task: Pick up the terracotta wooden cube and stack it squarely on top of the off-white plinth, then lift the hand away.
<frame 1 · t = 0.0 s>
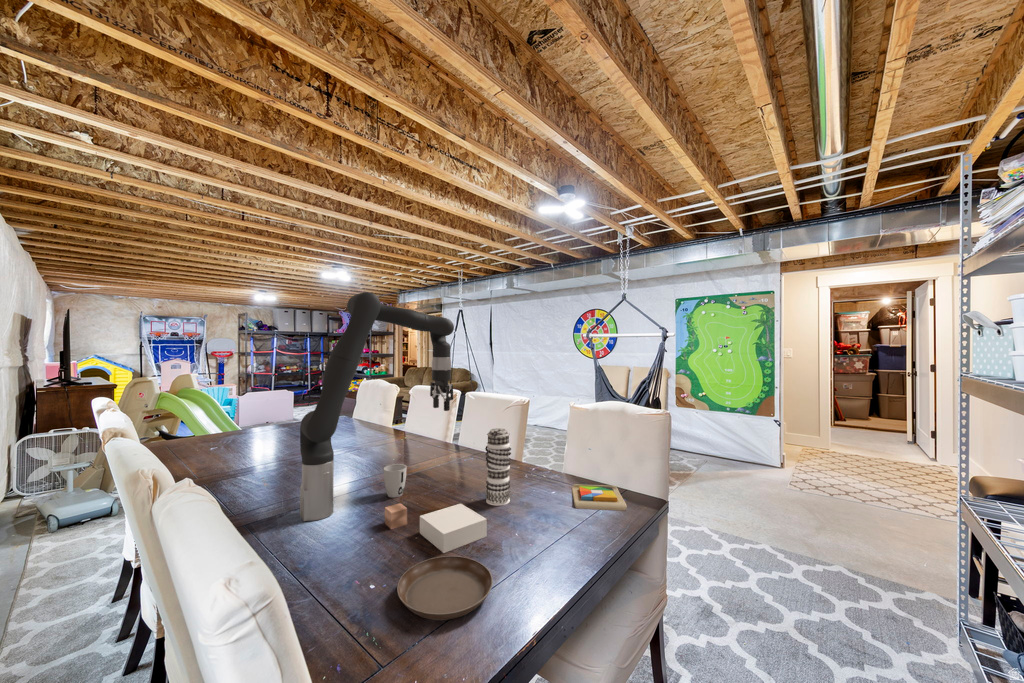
hand: (441, 409, 154), 29 cm above the table, fingers open, 8 cm apart
cup: (395, 495, 141), on the table
decorative candle: (497, 501, 136), on the table
terracotta cube: (395, 524, 119), on the table
plant saucer: (445, 596, 85), on the table
wooden puzzle: (597, 500, 139), on the table
off-white plinth: (452, 534, 112), on the table
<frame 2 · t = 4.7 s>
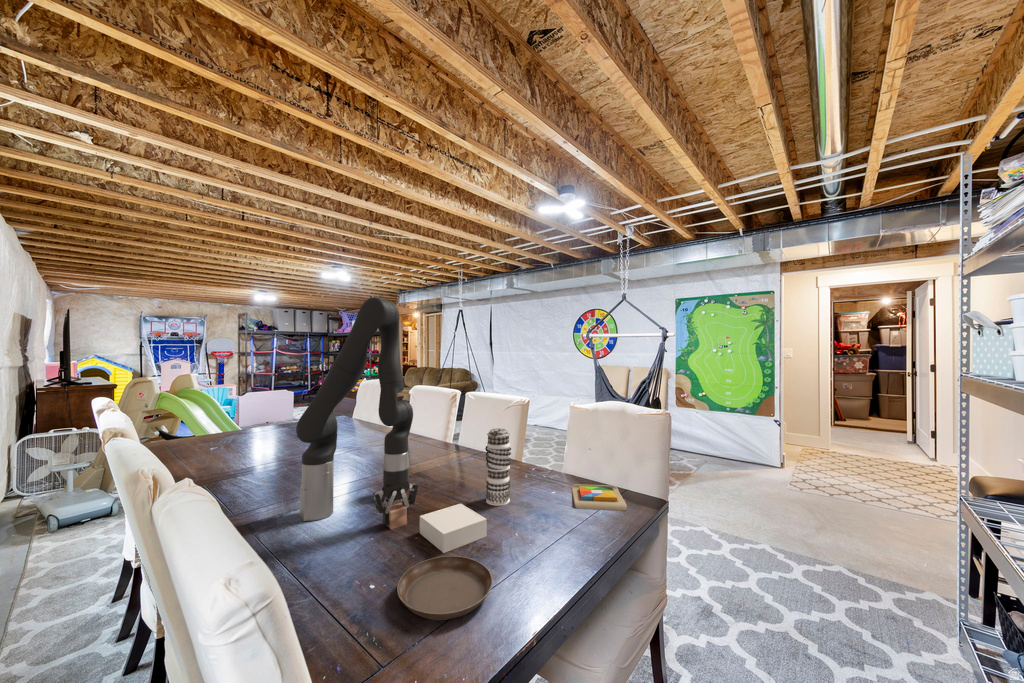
hand: (395, 521, 119), 1 cm above the table, fingers closed on terracotta cube, 5 cm apart
terracotta cube: (395, 523, 119), on the table, touching gripper
everything else where it was.
when the fingers open (7 cm above the table, at t = 10.9 s): terracotta cube stays where it is, resting on off-white plinth.
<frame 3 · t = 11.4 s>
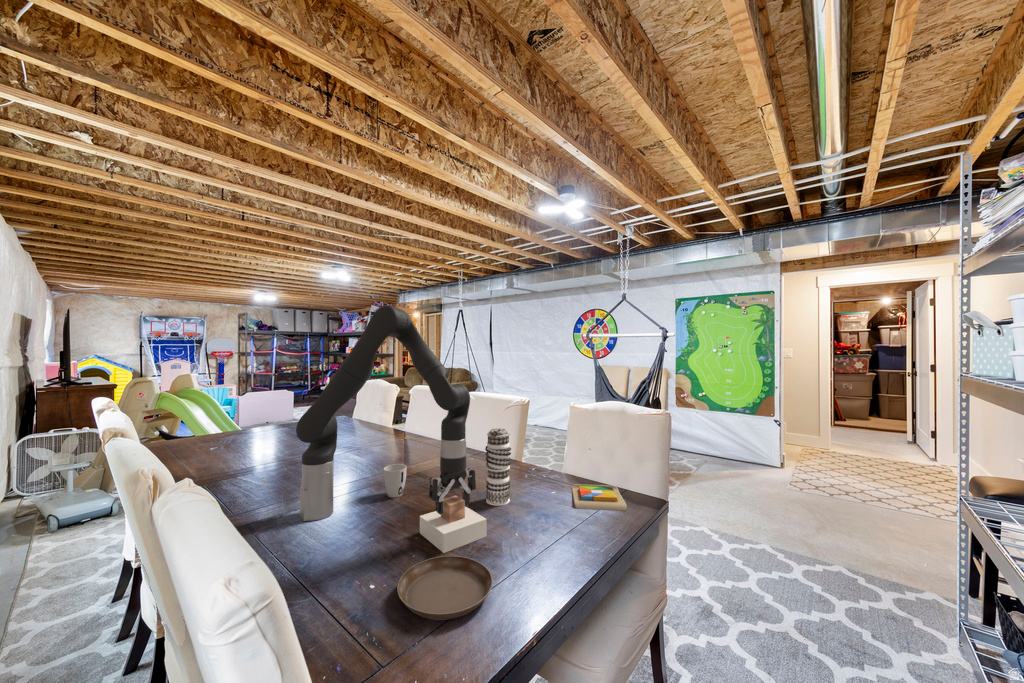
hand: (453, 509, 112), 7 cm above the table, fingers open, 8 cm apart
terracotta cube: (452, 517, 112), point 5 cm above the table, touching off-white plinth
everything else where it was.
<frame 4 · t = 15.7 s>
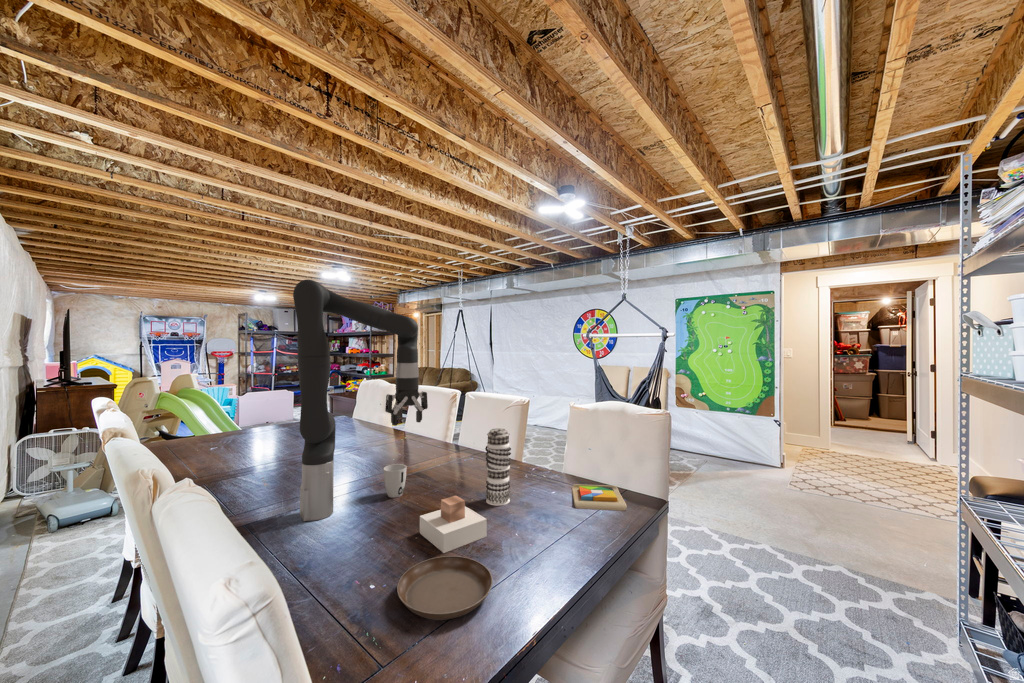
hand: (407, 423, 132), 28 cm above the table, fingers open, 8 cm apart
nothing on the table moved.
at the end: terracotta cube inside the target area on the off-white plinth (0.1 cm from its centre), point 5.0 cm above the off-white plinth's base; terracotta cube tilted 0°; the gripper is holding nothing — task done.
